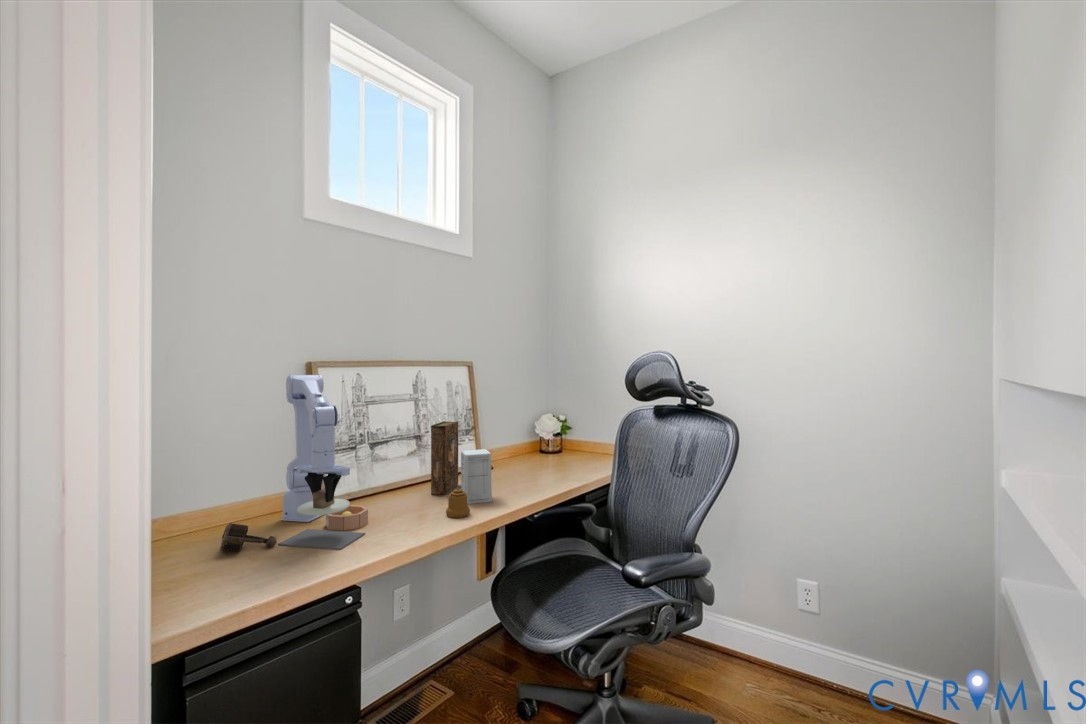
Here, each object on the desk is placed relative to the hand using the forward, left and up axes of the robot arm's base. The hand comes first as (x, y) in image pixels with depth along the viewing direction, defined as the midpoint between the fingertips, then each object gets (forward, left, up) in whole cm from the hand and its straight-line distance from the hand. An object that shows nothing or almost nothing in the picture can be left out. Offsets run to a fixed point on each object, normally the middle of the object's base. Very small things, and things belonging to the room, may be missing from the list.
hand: (323, 501), depth 137 cm
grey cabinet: (+28, +46, -11) cm, 55 cm away
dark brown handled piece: (-15, -10, -11) cm, 21 cm away
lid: (0, 0, -2) cm, 2 cm away
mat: (0, 0, -10) cm, 10 cm away
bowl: (-1, +13, -10) cm, 17 cm away
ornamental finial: (+28, +28, -11) cm, 41 cm away
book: (+12, +57, -11) cm, 59 cm away
